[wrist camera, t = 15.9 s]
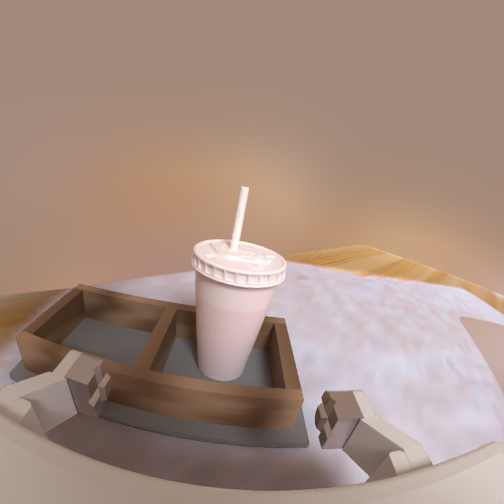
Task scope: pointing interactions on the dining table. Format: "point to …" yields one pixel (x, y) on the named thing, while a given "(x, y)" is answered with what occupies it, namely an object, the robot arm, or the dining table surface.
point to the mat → (181, 364)
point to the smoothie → (232, 297)
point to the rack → (156, 354)
